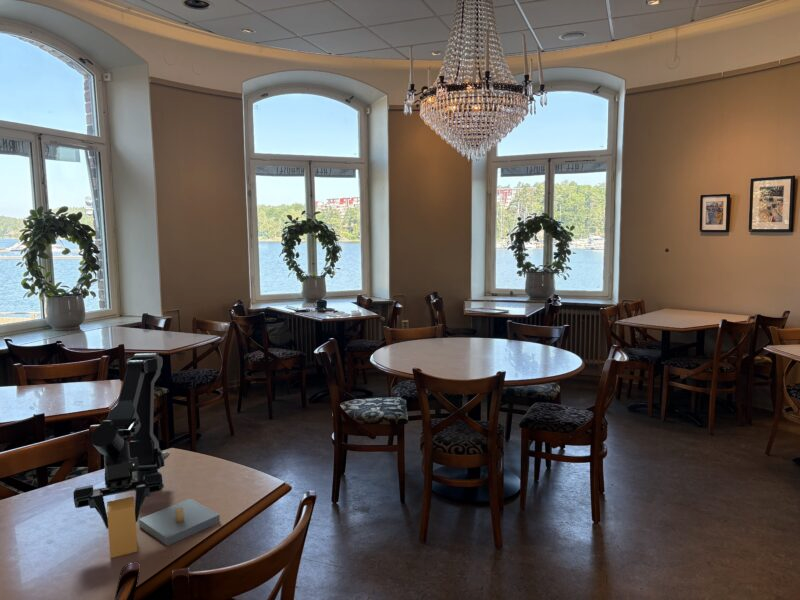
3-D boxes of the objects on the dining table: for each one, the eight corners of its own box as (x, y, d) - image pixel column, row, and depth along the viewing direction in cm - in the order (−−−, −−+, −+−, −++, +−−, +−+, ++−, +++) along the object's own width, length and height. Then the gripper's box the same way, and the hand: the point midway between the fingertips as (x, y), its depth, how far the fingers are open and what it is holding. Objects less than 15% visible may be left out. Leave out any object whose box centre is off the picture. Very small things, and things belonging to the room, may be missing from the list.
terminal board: (139, 526, 138) (138, 507, 138) (190, 505, 149) (189, 487, 149) (167, 545, 130) (166, 526, 129) (219, 522, 140) (218, 503, 140)
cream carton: (110, 546, 130) (106, 501, 128) (136, 539, 132) (133, 496, 131) (110, 558, 125) (107, 512, 124) (137, 551, 128) (134, 506, 126)
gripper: (70, 455, 125) (72, 523, 117) (159, 440, 134) (166, 502, 125) (74, 475, 133) (76, 540, 124) (158, 459, 142) (165, 519, 133)
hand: (122, 524), depth 127 cm, fingers closed on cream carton, 6 cm apart
